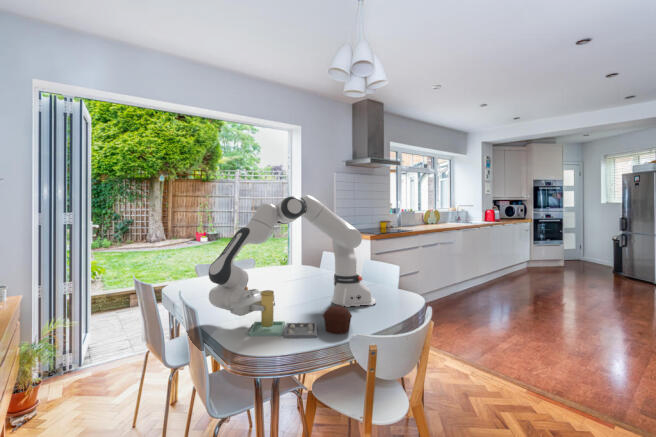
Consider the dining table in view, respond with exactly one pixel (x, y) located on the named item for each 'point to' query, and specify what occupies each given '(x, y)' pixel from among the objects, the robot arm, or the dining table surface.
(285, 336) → the gravel tray
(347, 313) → the muffin
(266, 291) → the tan capped cylinder
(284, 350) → the dining table surface
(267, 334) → the green tray
